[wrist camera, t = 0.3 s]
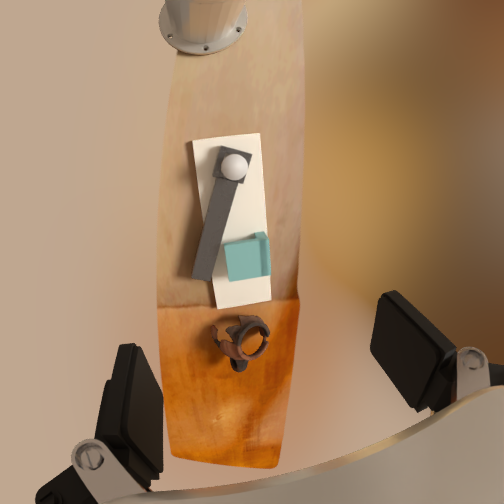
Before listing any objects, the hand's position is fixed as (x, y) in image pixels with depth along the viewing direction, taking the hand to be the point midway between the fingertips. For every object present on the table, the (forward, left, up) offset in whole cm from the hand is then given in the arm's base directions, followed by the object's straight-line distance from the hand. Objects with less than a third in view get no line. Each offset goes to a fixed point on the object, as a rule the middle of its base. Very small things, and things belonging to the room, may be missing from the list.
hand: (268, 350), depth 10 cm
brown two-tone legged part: (+29, +1, -35) cm, 45 cm away
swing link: (+5, 0, -33) cm, 34 cm away
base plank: (+8, +3, -35) cm, 36 cm away
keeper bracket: (+12, +4, -34) cm, 36 cm away
